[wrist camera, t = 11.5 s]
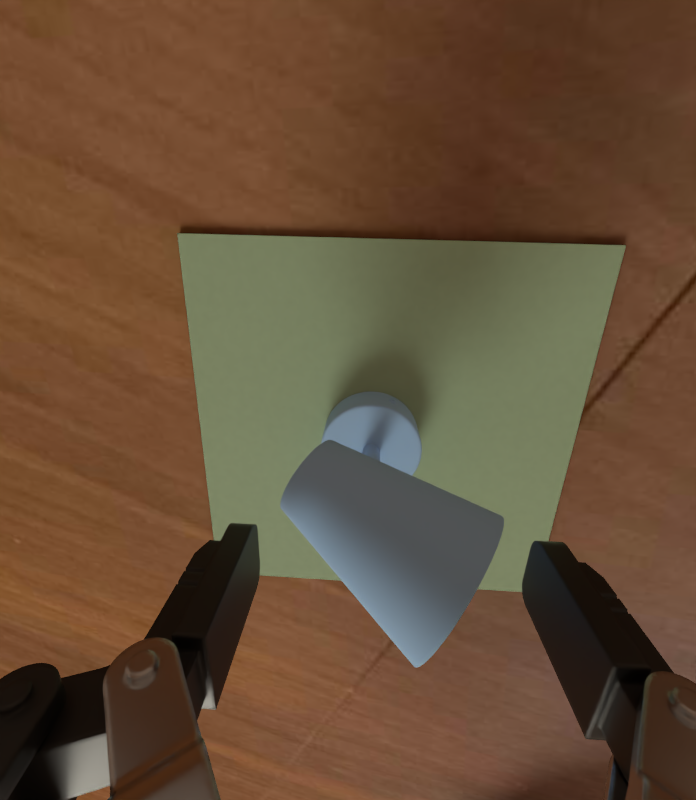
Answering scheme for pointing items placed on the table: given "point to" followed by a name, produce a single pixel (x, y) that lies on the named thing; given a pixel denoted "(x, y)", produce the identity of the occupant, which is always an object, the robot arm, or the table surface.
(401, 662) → the table surface
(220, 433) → the mat
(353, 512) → the spotlight
